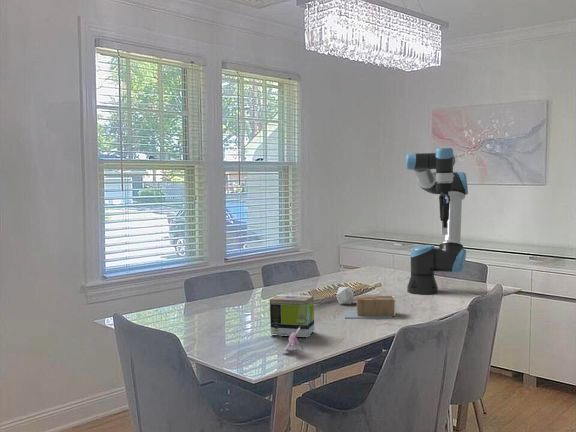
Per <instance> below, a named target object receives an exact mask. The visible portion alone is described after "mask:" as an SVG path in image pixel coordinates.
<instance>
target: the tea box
mask: <svg viewBox="0 0 576 432" xmlns="http://www.w3.org/2000/svg"><path fill="white" fill-rule="evenodd" d="M314 306H315V305H314V295H307V294H305V295H304V294H283V293H282V294H280V293H279V294H276V295H275V296H273V297H271V298H269V315H270V317H269V319H270V320H269V321H270V323H269V324H270V335H271V334H277V335H287V336H290V335H291V334H292V333H293V332H294V333H296V331H297V329H298V328H299V327H300V329H299V331H298V332H297V337H308V336H309V335H310V334H311V333H312V332H313V331H314V332H315V308H314ZM310 336H311V335H310ZM310 336H309V337H310ZM309 337H308V338H309Z"/></svg>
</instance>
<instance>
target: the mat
mask: <svg viewBox="0 0 576 432" xmlns="http://www.w3.org/2000/svg"><path fill="white" fill-rule="evenodd" d="M343 314H344V319H393V316H358V315H357V309H356V310H343Z"/></svg>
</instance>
